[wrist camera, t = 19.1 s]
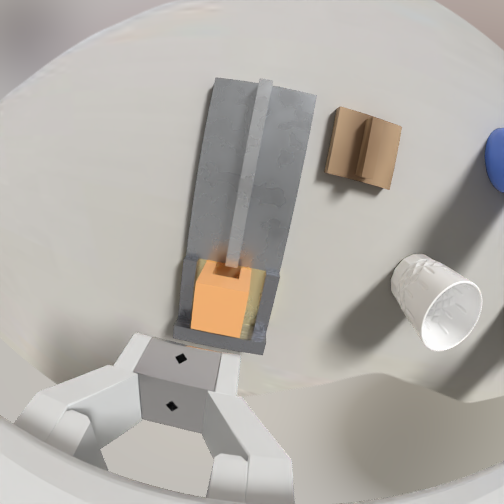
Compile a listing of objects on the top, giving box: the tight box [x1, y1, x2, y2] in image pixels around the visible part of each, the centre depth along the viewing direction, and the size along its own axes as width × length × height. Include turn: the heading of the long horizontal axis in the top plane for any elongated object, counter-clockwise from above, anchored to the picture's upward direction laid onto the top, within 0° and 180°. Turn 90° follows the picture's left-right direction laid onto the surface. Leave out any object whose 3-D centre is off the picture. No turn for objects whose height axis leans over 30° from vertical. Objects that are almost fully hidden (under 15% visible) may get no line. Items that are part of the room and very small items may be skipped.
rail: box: [173, 78, 317, 355], centre depth 29 cm, size 10×28×4 cm, turn 169°
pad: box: [324, 107, 402, 190], centre depth 26 cm, size 7×7×4 cm
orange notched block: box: [191, 261, 251, 338], centre depth 29 cm, size 5×5×6 cm
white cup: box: [391, 254, 482, 351], centre depth 28 cm, size 8×8×10 cm
